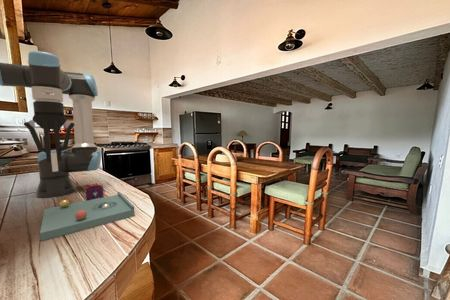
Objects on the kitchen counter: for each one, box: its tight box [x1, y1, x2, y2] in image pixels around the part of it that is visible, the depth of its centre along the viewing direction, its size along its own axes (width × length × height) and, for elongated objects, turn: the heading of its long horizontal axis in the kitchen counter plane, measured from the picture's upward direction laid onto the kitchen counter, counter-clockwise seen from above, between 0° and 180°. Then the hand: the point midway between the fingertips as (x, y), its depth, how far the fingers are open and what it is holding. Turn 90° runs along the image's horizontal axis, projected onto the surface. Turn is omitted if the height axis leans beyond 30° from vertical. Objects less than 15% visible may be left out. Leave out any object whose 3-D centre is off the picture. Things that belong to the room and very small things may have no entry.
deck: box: [39, 191, 135, 242], centre depth 74 cm, size 24×26×4 cm
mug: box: [85, 184, 105, 201], centre depth 91 cm, size 7×10×7 cm
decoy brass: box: [58, 198, 71, 208], centre depth 76 cm, size 3×3×3 cm
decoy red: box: [75, 210, 87, 220], centre depth 65 cm, size 3×3×3 cm
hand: (55, 170), depth 67 cm, fingers closed
